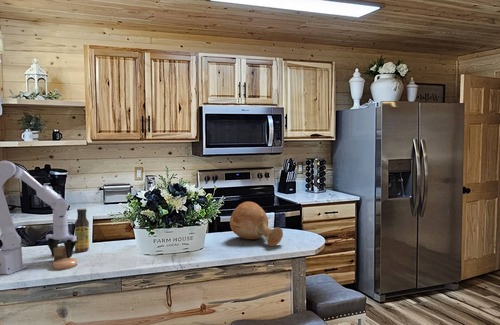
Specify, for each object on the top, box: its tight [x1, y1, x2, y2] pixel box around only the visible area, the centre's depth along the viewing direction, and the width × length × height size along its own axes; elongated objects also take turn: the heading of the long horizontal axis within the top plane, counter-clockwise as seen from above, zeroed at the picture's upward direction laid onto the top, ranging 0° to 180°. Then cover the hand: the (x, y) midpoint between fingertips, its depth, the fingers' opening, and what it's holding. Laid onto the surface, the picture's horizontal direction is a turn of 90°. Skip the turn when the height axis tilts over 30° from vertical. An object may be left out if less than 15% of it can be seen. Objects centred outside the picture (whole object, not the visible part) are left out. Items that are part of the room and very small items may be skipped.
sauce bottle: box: [74, 207, 90, 253], centre depth 186 cm, size 6×6×20 cm
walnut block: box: [53, 244, 71, 262], centre depth 171 cm, size 4×4×6 cm
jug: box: [229, 201, 284, 247], centre depth 199 cm, size 20×19×30 cm
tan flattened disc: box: [52, 257, 78, 271], centre depth 164 cm, size 9×9×2 cm
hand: (62, 256), depth 171 cm, fingers open, 7 cm apart
